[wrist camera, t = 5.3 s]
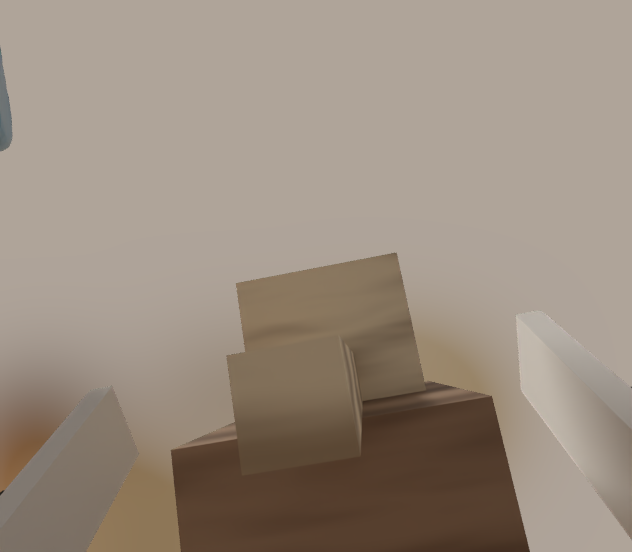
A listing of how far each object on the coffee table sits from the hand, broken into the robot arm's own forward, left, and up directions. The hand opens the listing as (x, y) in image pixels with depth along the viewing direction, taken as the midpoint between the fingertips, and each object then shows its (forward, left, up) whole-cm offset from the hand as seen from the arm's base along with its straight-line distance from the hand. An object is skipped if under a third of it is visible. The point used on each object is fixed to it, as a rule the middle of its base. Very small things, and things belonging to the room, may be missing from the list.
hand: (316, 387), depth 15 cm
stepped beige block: (-7, +6, -2) cm, 10 cm away
